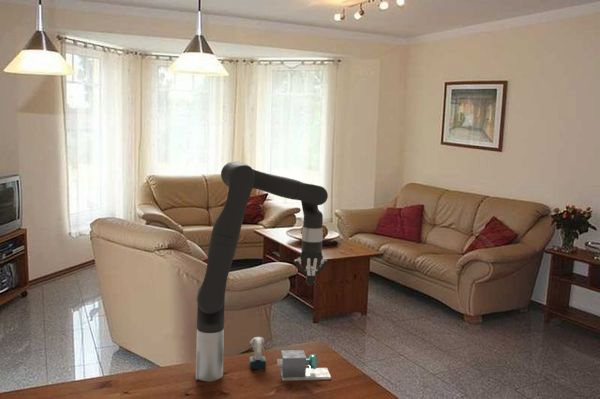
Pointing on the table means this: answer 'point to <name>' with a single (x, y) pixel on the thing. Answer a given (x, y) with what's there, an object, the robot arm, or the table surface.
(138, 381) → the table surface
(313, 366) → the shaft
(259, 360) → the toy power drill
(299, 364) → the shaft housing
